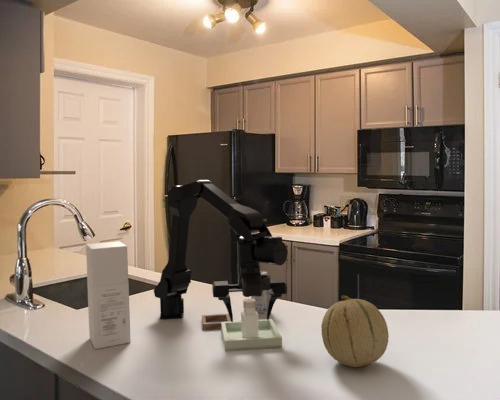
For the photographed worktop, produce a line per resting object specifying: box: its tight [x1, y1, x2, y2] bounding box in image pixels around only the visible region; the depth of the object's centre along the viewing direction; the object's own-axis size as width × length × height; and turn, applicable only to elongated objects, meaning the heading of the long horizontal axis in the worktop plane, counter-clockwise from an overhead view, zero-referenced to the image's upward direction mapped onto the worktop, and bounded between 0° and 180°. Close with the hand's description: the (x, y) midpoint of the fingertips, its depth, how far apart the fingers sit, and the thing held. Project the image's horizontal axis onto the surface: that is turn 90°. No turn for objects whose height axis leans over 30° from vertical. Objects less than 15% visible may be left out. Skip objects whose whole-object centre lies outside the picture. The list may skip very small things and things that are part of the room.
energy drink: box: [250, 270, 269, 314], centre depth 141 cm, size 5×5×12 cm
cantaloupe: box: [320, 294, 390, 368], centre depth 102 cm, size 15×15×15 cm
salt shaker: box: [240, 298, 260, 338], centre depth 118 cm, size 4×4×10 cm
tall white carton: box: [85, 241, 131, 350], centre depth 118 cm, size 9×9×25 cm
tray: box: [220, 318, 283, 352], centre depth 118 cm, size 14×14×2 cm
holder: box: [201, 313, 231, 331], centre depth 130 cm, size 8×8×2 cm
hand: (249, 320), depth 118 cm, fingers open, 9 cm apart
